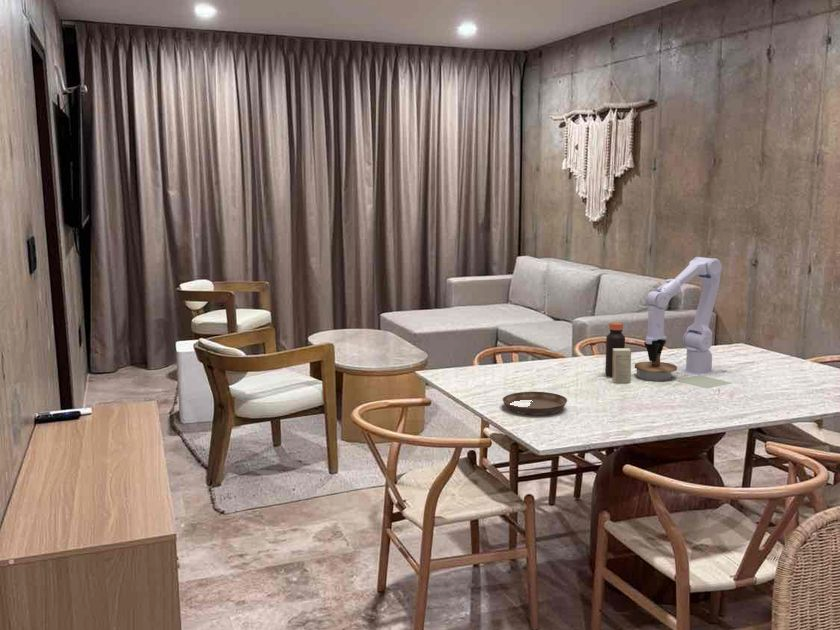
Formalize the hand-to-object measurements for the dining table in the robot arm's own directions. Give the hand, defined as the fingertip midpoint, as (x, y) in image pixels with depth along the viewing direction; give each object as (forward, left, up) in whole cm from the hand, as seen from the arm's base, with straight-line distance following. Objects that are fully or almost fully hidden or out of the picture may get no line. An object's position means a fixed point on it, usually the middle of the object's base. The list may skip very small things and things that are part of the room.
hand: (654, 360), depth 290 cm
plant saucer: (+63, +6, -7) cm, 64 cm away
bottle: (+9, -11, -7) cm, 16 cm away
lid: (0, 0, -3) cm, 3 cm away
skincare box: (+14, -3, -7) cm, 16 cm away
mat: (-9, +15, -7) cm, 19 cm away
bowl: (0, 0, -7) cm, 7 cm away
